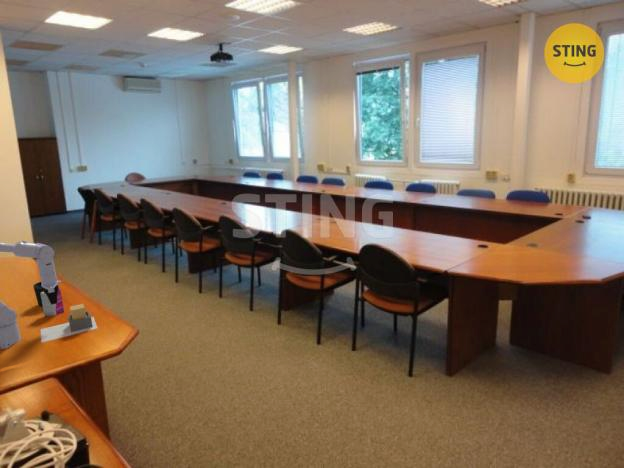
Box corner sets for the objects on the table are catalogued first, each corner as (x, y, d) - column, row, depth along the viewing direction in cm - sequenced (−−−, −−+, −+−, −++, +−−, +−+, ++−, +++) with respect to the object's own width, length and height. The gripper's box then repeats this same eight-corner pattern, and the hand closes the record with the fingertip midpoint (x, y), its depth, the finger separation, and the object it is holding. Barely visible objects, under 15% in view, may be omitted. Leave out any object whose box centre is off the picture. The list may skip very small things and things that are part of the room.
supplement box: (55, 317, 196) (50, 293, 193) (44, 316, 197) (39, 293, 194) (65, 311, 201) (60, 288, 198) (54, 311, 202) (49, 288, 200)
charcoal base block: (71, 332, 179) (69, 322, 177) (69, 324, 185) (67, 315, 184) (92, 326, 183) (90, 317, 182) (90, 319, 189) (88, 310, 188)
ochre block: (73, 321, 180) (70, 310, 178) (72, 317, 184) (69, 306, 182) (86, 318, 182) (84, 307, 181) (85, 314, 186) (83, 303, 185)
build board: (41, 344, 171) (41, 342, 171) (41, 331, 182) (40, 329, 182) (97, 330, 181) (97, 328, 181) (93, 318, 193) (93, 316, 192)
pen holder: (55, 297, 219) (51, 278, 217) (63, 301, 213) (59, 282, 211) (34, 304, 212) (30, 284, 210) (42, 308, 206) (37, 288, 204)
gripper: (59, 275, 177) (66, 306, 180) (57, 266, 189) (63, 296, 192) (39, 279, 173) (46, 311, 177) (38, 270, 185) (45, 299, 188)
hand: (54, 303), depth 184 cm, fingers closed
